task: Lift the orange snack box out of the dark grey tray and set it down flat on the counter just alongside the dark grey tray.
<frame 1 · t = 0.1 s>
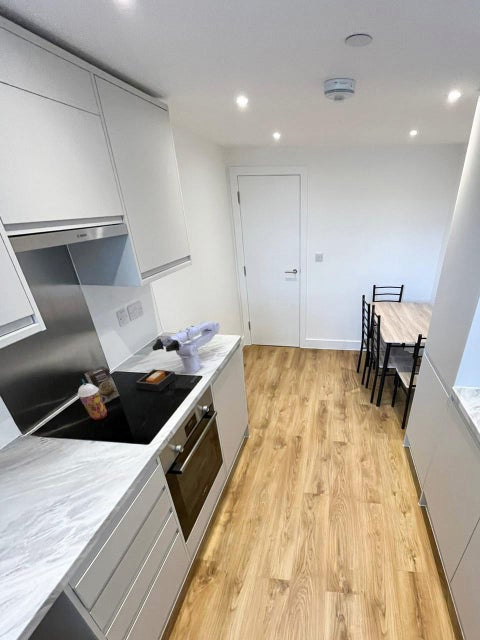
hand: (159, 349, 160), 22 cm above the worktop, tool horizontal, fingers open, 7 cm apart
dark grey tray: (157, 383, 175), on the worktop
snack box: (157, 382, 175), point 1 cm above the worktop, touching dark grey tray
smoothie: (100, 416, 152), on the worktop
coffee box: (108, 399, 165), on the worktop
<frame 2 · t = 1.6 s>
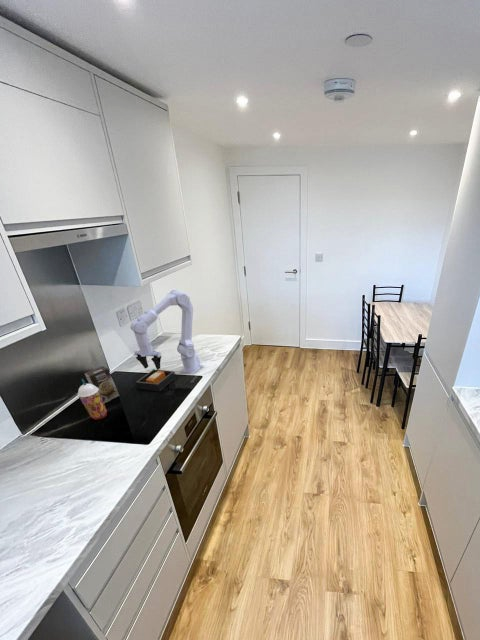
hand: (152, 368, 170), 9 cm above the worktop, tool pointing down, fingers open, 7 cm apart
nothing on the worktop moved.
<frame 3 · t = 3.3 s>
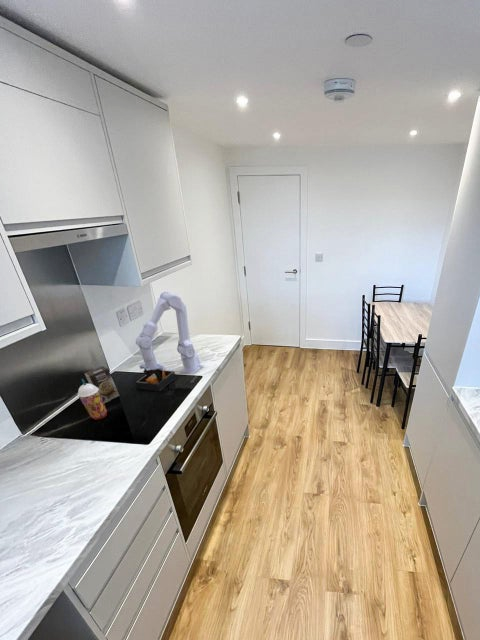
hand: (157, 381, 175), 2 cm above the worktop, tool pointing down, fingers closed on snack box, 4 cm apart
snack box: (157, 382, 175), point 1 cm above the worktop, touching gripper, dark grey tray
everything else where it was.
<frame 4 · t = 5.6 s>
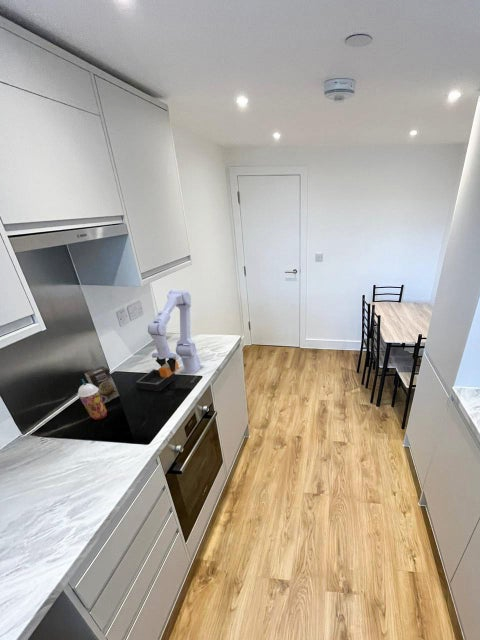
hand: (169, 370, 168), 9 cm above the worktop, tool pointing down, fingers closed on snack box, 4 cm apart
snack box: (170, 372, 168), point 8 cm above the worktop, touching gripper
everything else where it was.
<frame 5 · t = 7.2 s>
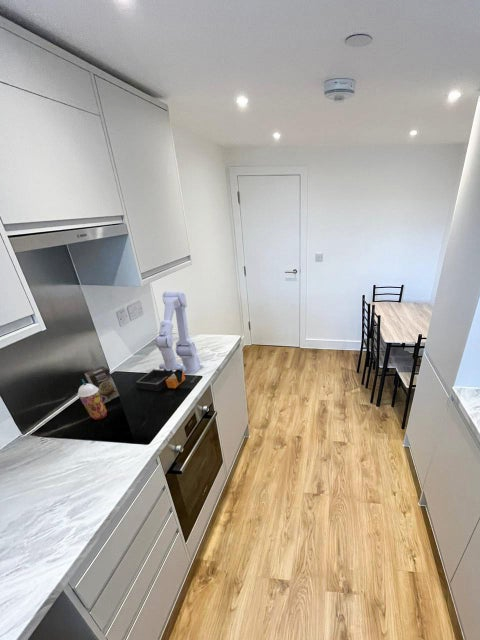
hand: (176, 381, 171), 3 cm above the worktop, tool pointing down, fingers closed on snack box, 4 cm apart
snack box: (176, 383, 171), point 2 cm above the worktop, touching gripper
everything else where it was.
when the fingers open (1 cm above the worktop, at t = 8.1 s): snack box stays where it is, on the worktop.
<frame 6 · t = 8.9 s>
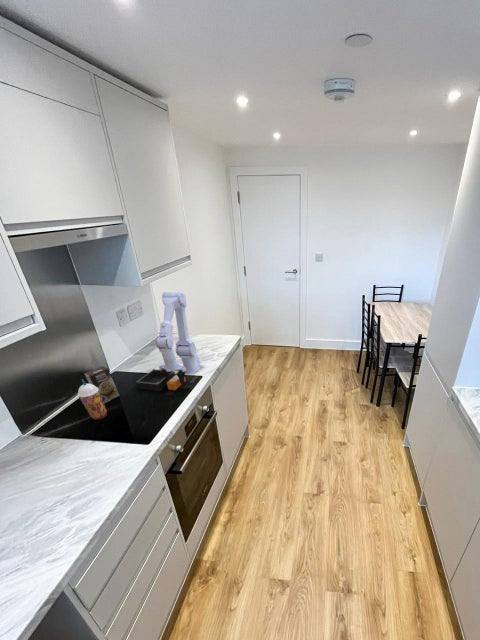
hand: (176, 382, 171), 2 cm above the worktop, tool pointing down, fingers open, 7 cm apart
snack box: (177, 385, 172), on the worktop
everything else where it was.
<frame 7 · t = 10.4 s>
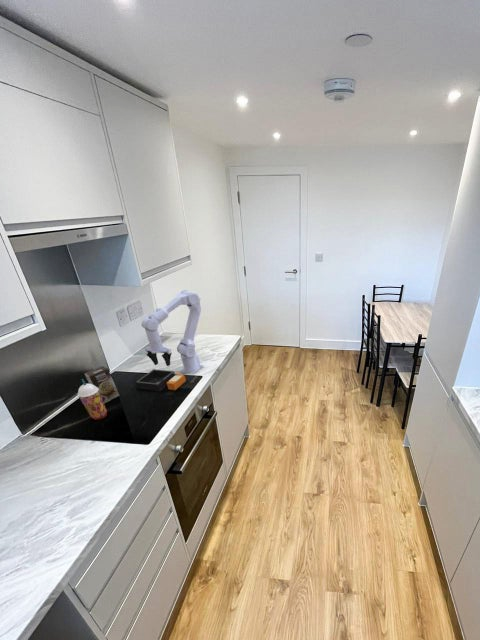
hand: (162, 364, 173), 9 cm above the worktop, tool pointing down, fingers open, 7 cm apart
nothing on the worktop moved.
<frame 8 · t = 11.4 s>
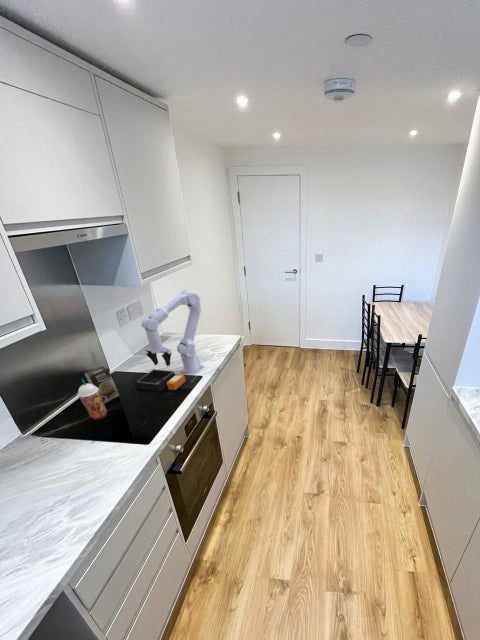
hand: (162, 364, 173), 9 cm above the worktop, tool pointing down, fingers open, 7 cm apart
nothing on the worktop moved.
at the end: snack box inside the target area (0.3 cm from its centre), on the worktop; snack box tilted 0°; snack box touching worktop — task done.
